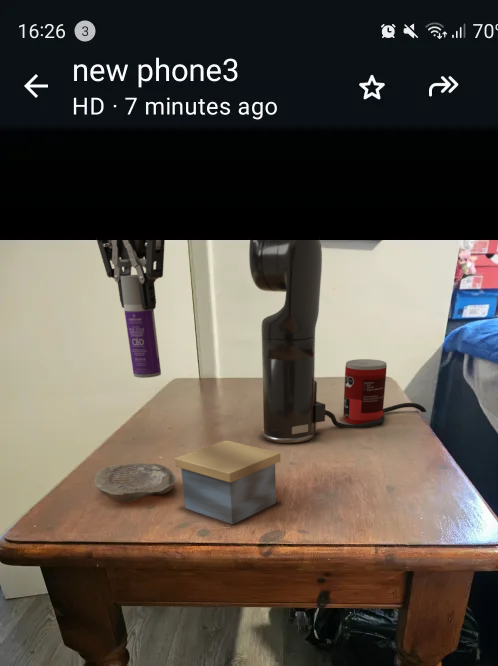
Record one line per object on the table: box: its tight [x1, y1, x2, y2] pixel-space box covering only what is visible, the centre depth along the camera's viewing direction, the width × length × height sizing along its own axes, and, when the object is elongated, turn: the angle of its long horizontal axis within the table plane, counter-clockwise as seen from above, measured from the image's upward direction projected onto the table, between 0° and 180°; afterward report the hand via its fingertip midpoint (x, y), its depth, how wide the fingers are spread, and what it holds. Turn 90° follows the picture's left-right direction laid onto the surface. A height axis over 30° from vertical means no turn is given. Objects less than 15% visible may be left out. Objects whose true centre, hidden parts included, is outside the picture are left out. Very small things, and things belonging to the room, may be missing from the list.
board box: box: [174, 439, 281, 525], centre depth 79 cm, size 10×10×7 cm
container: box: [120, 274, 162, 379], centre depth 96 cm, size 5×5×15 cm
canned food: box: [342, 358, 388, 425], centre depth 115 cm, size 8×8×11 cm
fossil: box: [94, 462, 177, 504], centre depth 85 cm, size 10×12×3 cm
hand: (138, 308), depth 95 cm, fingers closed on container, 4 cm apart
